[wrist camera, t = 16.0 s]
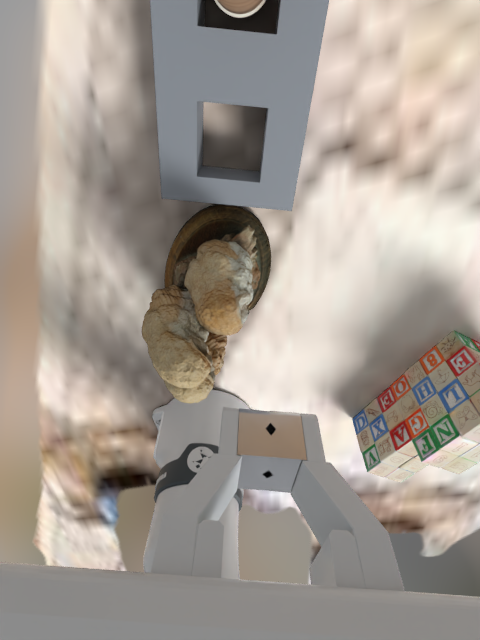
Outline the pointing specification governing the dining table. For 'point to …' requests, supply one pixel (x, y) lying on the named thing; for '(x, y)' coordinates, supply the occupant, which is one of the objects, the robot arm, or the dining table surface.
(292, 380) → the dining table surface
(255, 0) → the walnut peg
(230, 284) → the beige rough lumpy piece
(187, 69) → the two-hole board
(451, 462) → the stack of blocks
